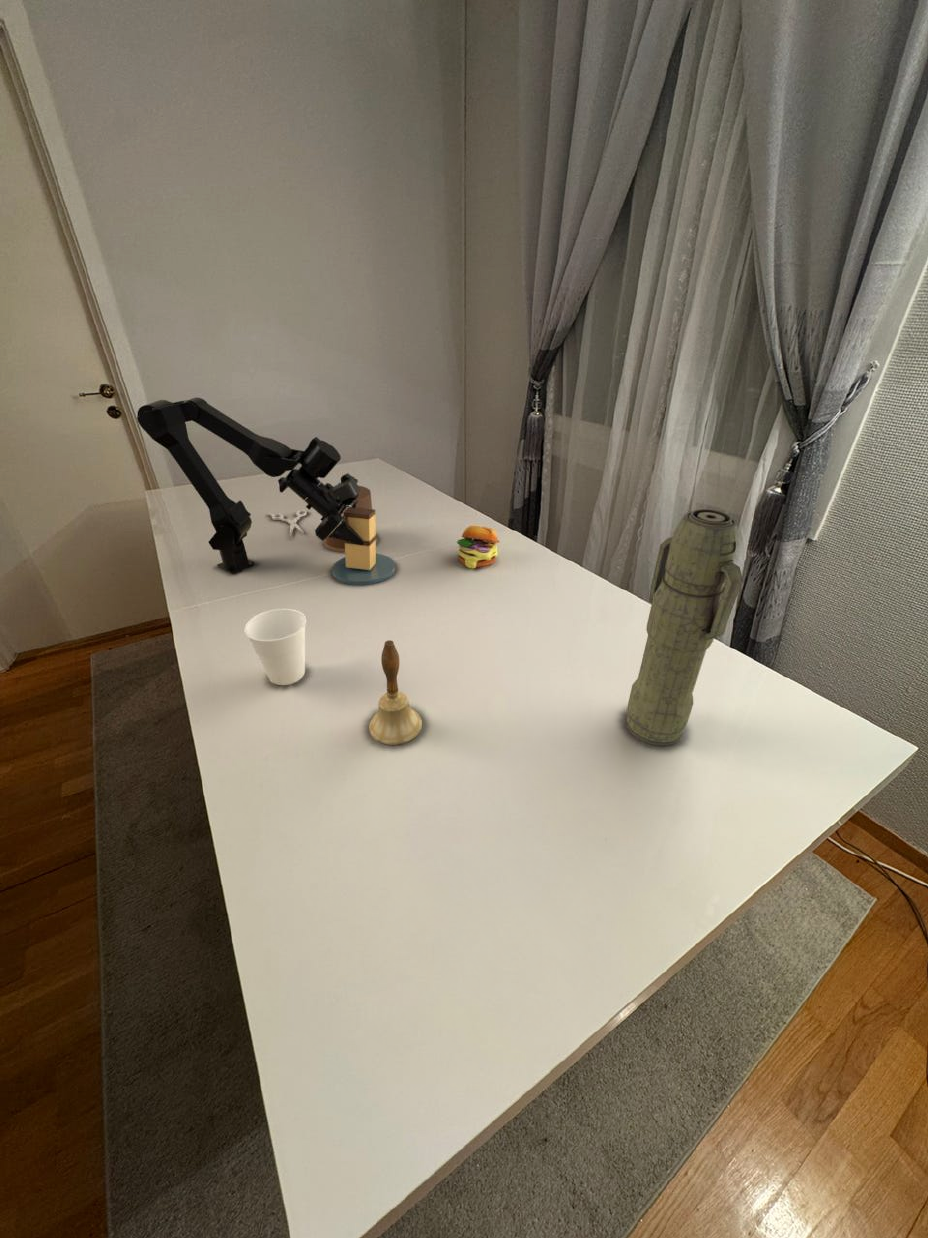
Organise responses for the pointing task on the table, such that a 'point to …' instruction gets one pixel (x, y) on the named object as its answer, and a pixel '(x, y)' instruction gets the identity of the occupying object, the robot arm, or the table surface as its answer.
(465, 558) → the cheeseburger
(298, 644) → the cup
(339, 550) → the cake
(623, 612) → the table surface
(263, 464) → the robot arm
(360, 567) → the cake slice
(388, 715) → the hand bell
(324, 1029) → the table surface
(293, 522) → the scissors
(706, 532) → the thermos
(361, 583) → the plate
